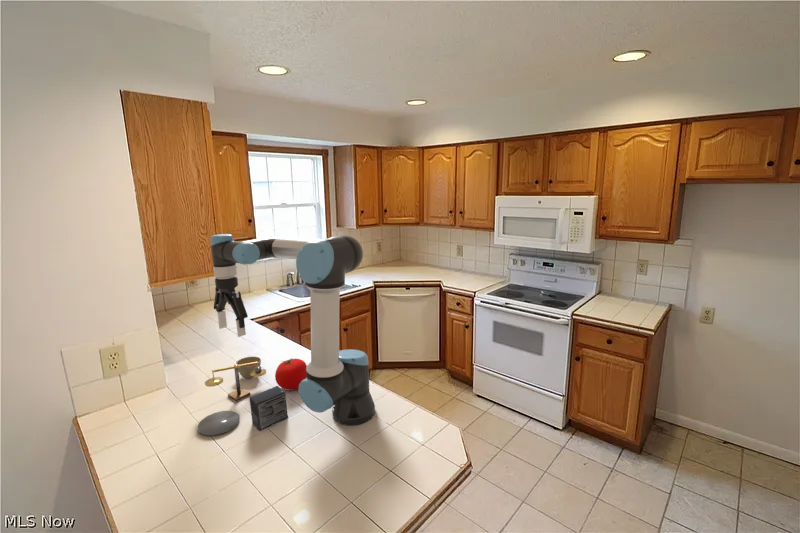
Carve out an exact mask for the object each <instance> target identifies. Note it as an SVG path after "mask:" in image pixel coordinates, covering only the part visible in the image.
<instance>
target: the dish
mask: <svg viewBox="0 0 800 533" xmlns="http://www.w3.org/2000/svg"><path fill="white" fill-rule="evenodd" d="M240 419H241V417H240V415H239V413H238V412H236V411H234V410H222V411H220V410H219V411H217V412H214V413H211V414H209V415H207V416H205V417H204V418H203V419H201V420H200V421H199V422H198V424H197V431H198V433H199V434H201V435H202V436H211V437H212V436H218V435H221V434H224V433H227V432H229V431H230V430H232V429H234V428H235V427H236V426H237V425H238V424H239V422H240Z"/></svg>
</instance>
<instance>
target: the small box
mask: <svg viewBox="0 0 800 533" xmlns="http://www.w3.org/2000/svg"><path fill="white" fill-rule="evenodd" d="M248 397H249V406H250V413H251V414H250V416H251V422H252V425H253V426H254V427H255V428H256V429H257V430H258V431H259V432H261V431H263V430H266V429H268V428H270V427H272V426H274V425H276V424H278V423H281V422H282V421H283V422H284V421H285V420H287V419H289V416H288V407H287V406H288V405H287V397H286V391H285V389H283V388H281V387H280V386H279V385H276V386H273V387H271V388H268V389H266V390H263V391H261V392H259V393H256V394H253V395H250V396H248Z"/></svg>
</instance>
